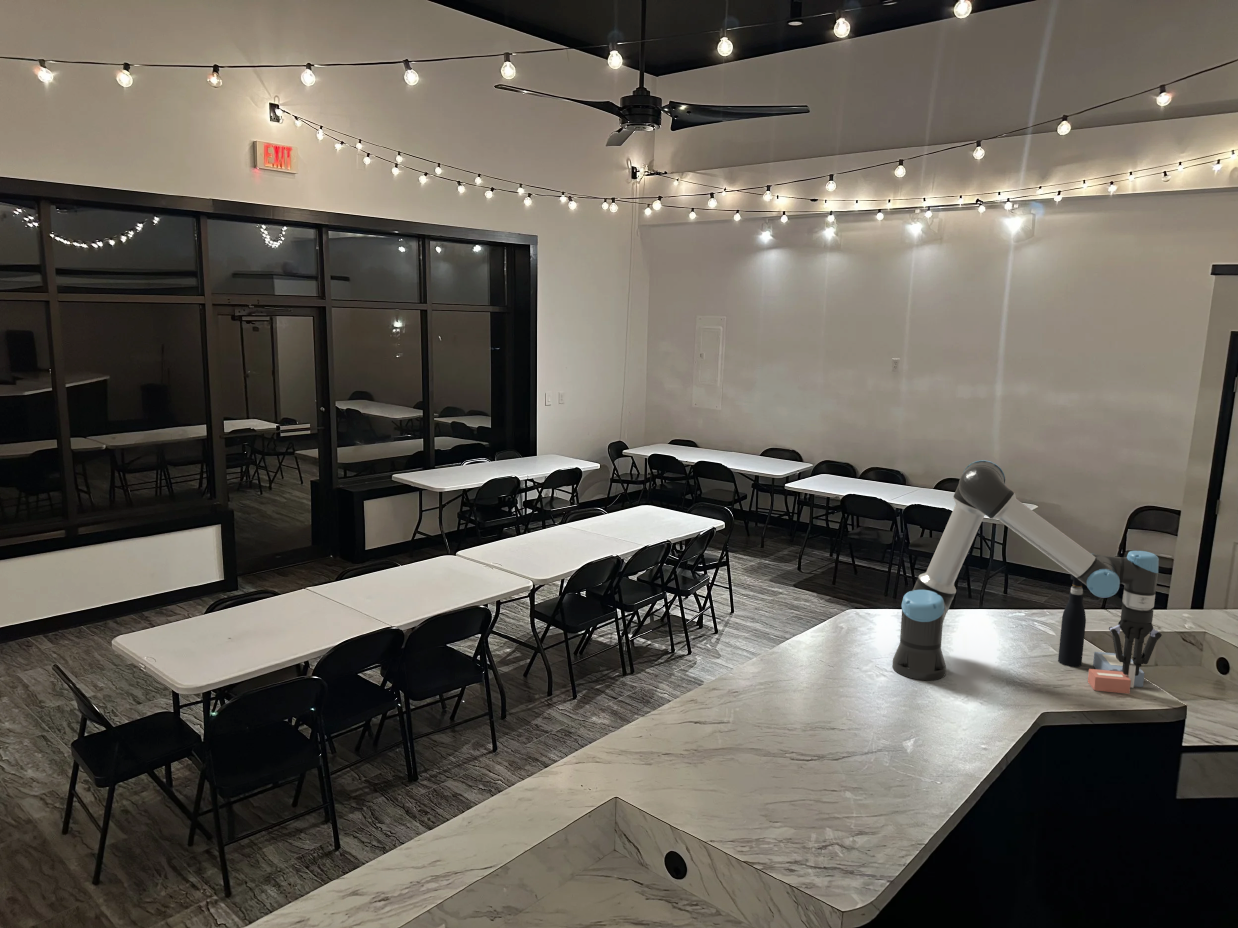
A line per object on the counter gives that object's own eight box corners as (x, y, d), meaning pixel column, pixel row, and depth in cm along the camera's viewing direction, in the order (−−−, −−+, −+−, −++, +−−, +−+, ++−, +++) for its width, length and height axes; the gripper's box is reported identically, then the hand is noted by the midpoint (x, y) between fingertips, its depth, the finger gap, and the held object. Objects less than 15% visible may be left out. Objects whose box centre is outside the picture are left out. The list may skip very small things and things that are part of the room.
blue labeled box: (1108, 683, 239) (1109, 669, 239) (1092, 664, 253) (1094, 651, 252) (1142, 686, 237) (1144, 672, 237) (1125, 667, 251) (1127, 654, 250)
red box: (1094, 690, 235) (1095, 676, 234) (1087, 681, 240) (1089, 668, 240) (1129, 693, 232) (1131, 679, 232) (1122, 684, 238) (1123, 671, 238)
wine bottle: (1085, 667, 251) (1095, 572, 246) (1064, 666, 251) (1073, 572, 246) (1074, 658, 257) (1083, 566, 252) (1054, 658, 257) (1062, 565, 253)
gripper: (1116, 608, 229) (1108, 688, 233) (1169, 612, 226) (1159, 693, 230) (1107, 600, 236) (1099, 677, 240) (1158, 603, 233) (1149, 682, 237)
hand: (1128, 685), depth 235 cm, fingers closed
